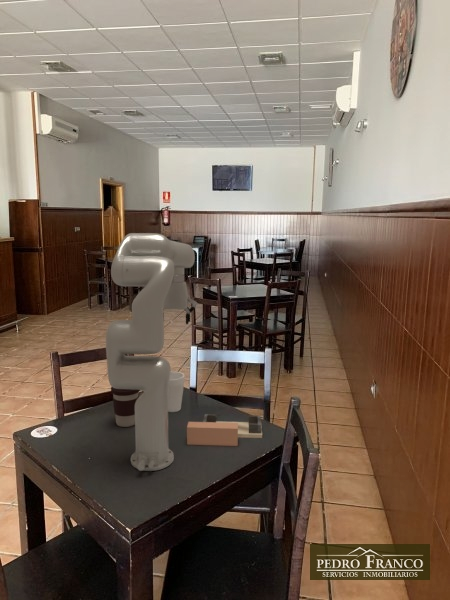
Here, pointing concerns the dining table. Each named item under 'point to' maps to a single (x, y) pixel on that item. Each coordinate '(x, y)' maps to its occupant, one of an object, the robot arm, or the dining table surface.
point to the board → (242, 426)
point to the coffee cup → (124, 406)
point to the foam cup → (175, 391)
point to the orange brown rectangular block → (212, 433)
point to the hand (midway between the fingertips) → (174, 323)
